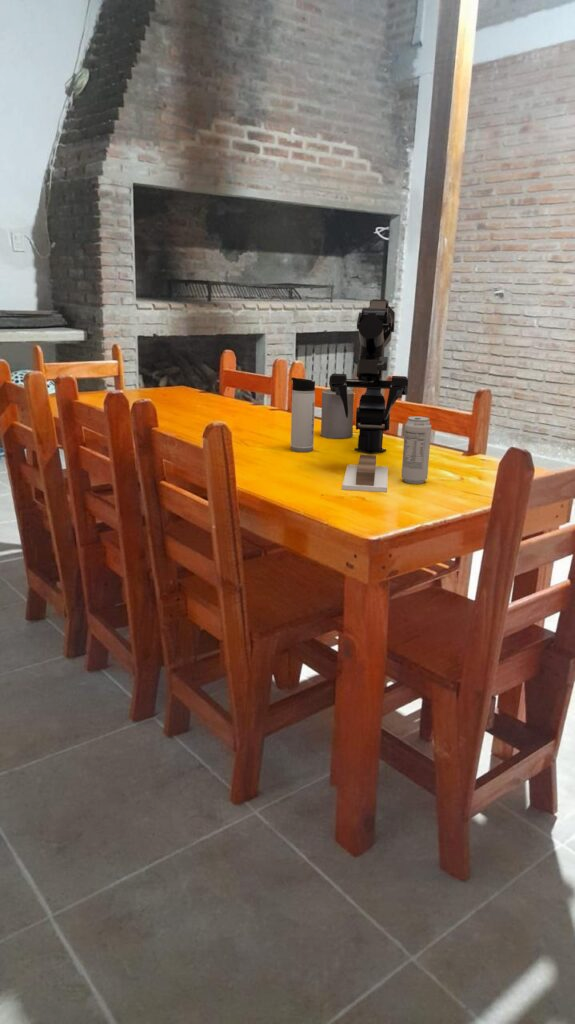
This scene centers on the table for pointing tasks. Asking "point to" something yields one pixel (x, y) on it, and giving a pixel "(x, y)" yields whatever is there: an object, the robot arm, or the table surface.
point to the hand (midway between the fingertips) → (366, 418)
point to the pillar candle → (336, 416)
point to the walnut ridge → (366, 470)
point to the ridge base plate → (379, 485)
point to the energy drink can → (416, 450)
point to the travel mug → (302, 415)
